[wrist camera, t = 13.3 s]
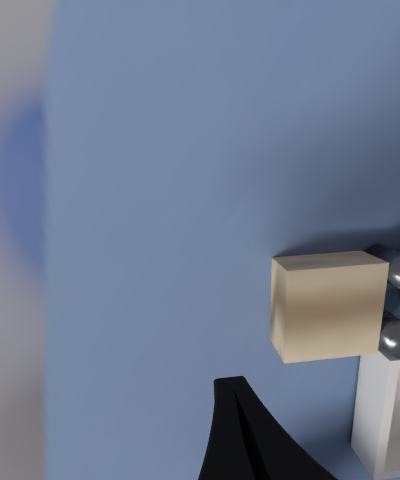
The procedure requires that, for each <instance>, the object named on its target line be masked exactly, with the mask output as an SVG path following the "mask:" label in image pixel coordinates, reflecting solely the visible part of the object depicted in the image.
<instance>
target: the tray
mask: <svg viewBox="0 0 400 480" xmlns="http://www.w3.org/2000/svg"><path fill="white" fill-rule="evenodd" d="M351 447H352V448H353V450H354V452H355V453H356V455H357V456H358V458H359V459H360V461H361V463H362V464H363V466H364V467H365V469H366V470H367V472H368V474H369V475H370V477H371V478H372V480H383V479H390V478H397V477H400V359H397V358H395V357H393V356H392V355H391V354H390V353H388V352H387V351H386V350H385V349H384V348H383V347H381V346H380V345H379V346H378V354H369V355H361V357H360V366H359V375H358V384H357V393H356V402H355V411H354V420H353V430H352V439H351Z"/></svg>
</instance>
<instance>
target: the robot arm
mask: <svg viewBox="0 0 400 480" xmlns="http://www.w3.org/2000/svg"><path fill="white" fill-rule="evenodd" d="M214 400H215V404H214V413H213V420H212V426H211V431H210V437H209V442H208V446H207V450H206V454H205V458H204V462H203V465H202V468H201V472H200V475H199V478H198V480H338V479H336V478H335V477H334V476H333V475H332V474H330V473H329V472H328V471H327V470H326V469H324V468H323V467H322V466H321V465H320V464H318V463H317V462H316V461H315V460H314V459H313V458H312V457H311V456H310V455H309V454H308V453H307V452H305V451H304V450H303V449H302V448H301V447H300V446H299V445H298V444H297V443H296V442H295V441H294V440H293V439H292V437H291V436H290V435H289V434H288V433H287V432H286V431H285V430H284V429H283V428H282V426H281V425H280V424H279V423H278V422H277V421H276V420H275V418H274V417H273V416H272V415H271V413H270V412H269V411H268V410H267V408H266V407H265V406H264V405H263V403H262V402H261V401H260V399H259V398H258V397H257V395H256V394H255V392H254V391H253V390H252V388H251V387H250V385H249V384H248V382H247V380H246V379H245V377H243V376H237V377H228V378H218V379H215V380H214Z"/></svg>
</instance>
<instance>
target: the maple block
mask: <svg viewBox="0 0 400 480" xmlns="http://www.w3.org/2000/svg"><path fill="white" fill-rule="evenodd" d="M388 270H389V262H386V261H384V260H382V259H380V258H377V257H375V256H373V255H370V254H368V253H366V252H363V251H349V252H336V253H323V254H310V255H297V256H284V257H272V283H271V341H272V343H273V345H274V346H275V348H276V350H277V352H278V353H279V355H280V357H281V359H282V360H283V362H284V363H293V362H303V361H312V360H322V359H331V358H340V357H350V356H359V355H369V354H378V346H379V339H380V331H381V323H382V316H383V308H384V301H385V293H386V285H387V278H388Z"/></svg>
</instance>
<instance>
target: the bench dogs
mask: <svg viewBox="0 0 400 480" xmlns="http://www.w3.org/2000/svg"><path fill="white" fill-rule="evenodd" d="M366 253H368V254H370V255H373V256H375V257H377V258H380V259H382V260H384V261H386V262H389V270H388V278H387V283H389V284H391V285H393V286H395V287H397V288H398V289H400V250H397V249H395V248H392V247H389V246H386V245H383V244H378V245H374V246H372V247H370V248H369V249H368V250H367V251H366ZM379 345H380V346H381V347H383V348H384V349H385V350H386V351H387V352H388V353H390V354H391V355H392V356H393V357H395V358H397V359H400V319H399V318H397V317H396V316H394V315H393V314H391V313H390V312H388V311H387V310H385V309H384V308H383V316H382V323H381V331H380V339H379Z"/></svg>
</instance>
